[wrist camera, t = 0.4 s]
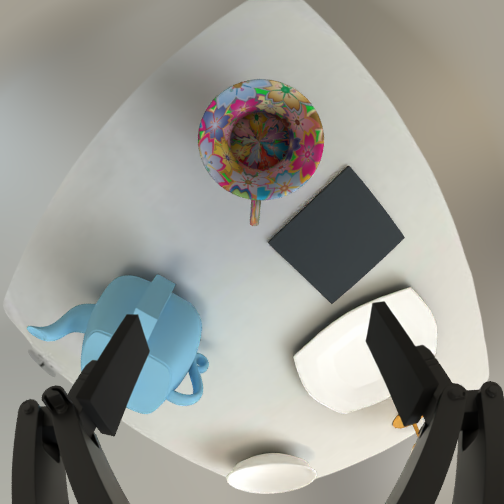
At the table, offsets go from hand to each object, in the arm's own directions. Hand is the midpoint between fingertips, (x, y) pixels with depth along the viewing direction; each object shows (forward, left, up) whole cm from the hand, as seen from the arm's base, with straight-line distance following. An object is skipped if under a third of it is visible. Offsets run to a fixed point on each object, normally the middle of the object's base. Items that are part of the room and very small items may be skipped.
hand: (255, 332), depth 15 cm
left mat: (-6, +8, -19) cm, 22 cm away
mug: (-6, -6, -19) cm, 21 cm away
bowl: (+36, +40, -19) cm, 57 cm away
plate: (+2, +27, -19) cm, 33 cm away
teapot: (+20, -3, -19) cm, 28 cm away
